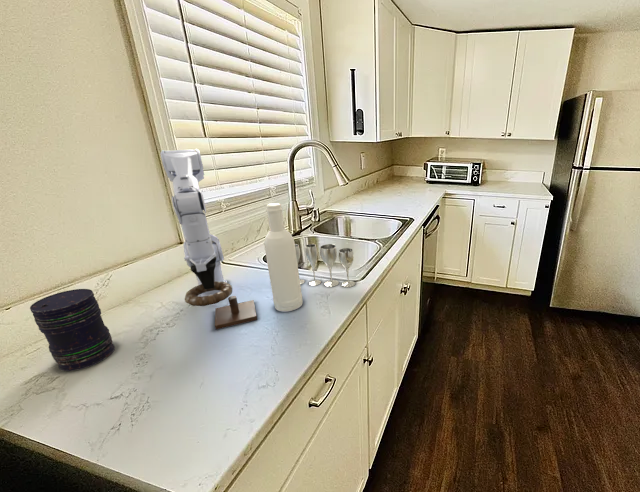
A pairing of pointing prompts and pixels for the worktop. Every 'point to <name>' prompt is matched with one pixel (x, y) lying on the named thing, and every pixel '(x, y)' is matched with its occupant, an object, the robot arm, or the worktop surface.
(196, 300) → the ring
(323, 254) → the goblet set
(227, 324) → the brown peg plate
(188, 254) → the robot arm
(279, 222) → the bottle
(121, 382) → the worktop surface
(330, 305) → the worktop surface
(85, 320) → the storage jar
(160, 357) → the worktop surface
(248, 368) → the worktop surface
